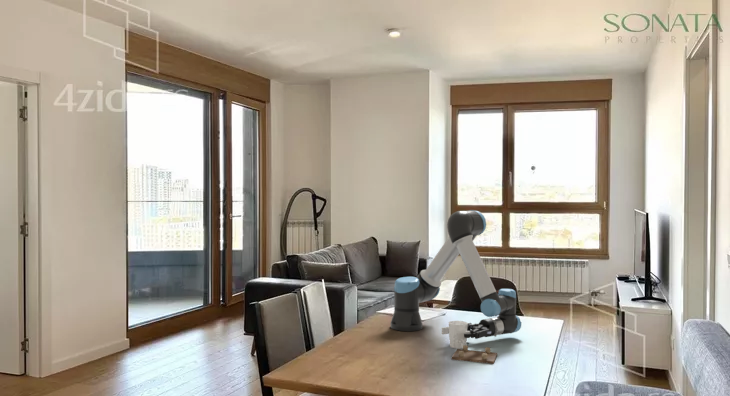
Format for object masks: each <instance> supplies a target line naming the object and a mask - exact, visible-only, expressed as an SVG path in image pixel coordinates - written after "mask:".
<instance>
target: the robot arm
mask: <svg viewBox="0 0 730 396" xmlns="http://www.w3.org/2000/svg"><path fill="white" fill-rule="evenodd" d="M446 223H447V224H446V229H447V233H448V238H447V239H446V240H445V242H444V243H443V245H442V246H441V248H440V249H439V251H438V252H437V253H436V255H435V256H434V258H433V259H432V260H431V262H430V263H429V265H428V267H426V269H422V270H420V272H419V274H418V275H416V276H417V277H415V276H403V277H399V278H397V279H396V280H395V281H394V287H393V291H394V295H393V296H394V298H393V299H394V304H393V305H394V309H393V310H394V311H393V314H392V318H391V320H390V328H391V329H392V330H394V331H400V332H416V331H420V330H422V329H423V326H424V325H423V320H422V318H421V315H420V303H424V302H428V301H429V302H430V301H432V300H434V299H435V298H436V297H438V295H439V293H440V289H441V288H440V287H441V285H442V281H441V280H442V279H443V278H444V276H445V274H446V273H447V272H448V271H449V269H450V268H451V266H452V265H453V264H454V262H455V261H456V259H457V258H458V256H460V258H461V259H462V261H463V264H464V266H465V268H466V270H467V272H468V274H469V277H470V279H471V281H472V283H473V285H474V288H475V290H476V292H477V294H478V296H479V299H480V300H481V304H480V311H481V313H482V314H483V316H485V317H487V318H485V319H481V320H480V321H479V322H478V323H472V322H467V323H468V329H467V331H465V332H459V333H457V340H460V339H466V338H467V339H475V340H478V339H482V338H489V337H494V338H495V337H497V336H500V335H507V334H508V335H509V334H513V333H517V332H518V331H520V330H521V328H522V322H521V319H520V317H519V316H518V315H517V292H516V290H514V289H512V288H500V289H498V290H499V294H497V292H496V291H497V290H496V288H495V286H494V283H493V281H492V279H491V277H490V275H489V273H488V270H487V268H486V266H485V264H484V262H483V260H482V257H481V256H480V253H479V252H478V249H477V246H476V245H475V243H474V240H475V239H476V237H478V236H480V235H482V234H483V233H484V232H485V230H486V228H487V219H486V218H485V216H484V215H483V213H482V212H481V211H478V210H474V209H469V210H457V211H455V212H453V213H452V214H450V215H449V217H448V218H447V222H446ZM498 316H499V317H498ZM441 335H449V326H445V327H441Z"/></svg>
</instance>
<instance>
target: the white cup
mask: <svg viewBox="0 0 730 396" xmlns="http://www.w3.org/2000/svg"><path fill="white" fill-rule="evenodd" d="M468 323H469V322H467V321H463V320H451V321H449V322H448V327H449V334H448V337H449V338H448V339H449V347H450V348H452V349H455V350H457V349H463V345H467V339H468V338H466V339H460V340H457V333H459V332H465V331H467V329H468Z"/></svg>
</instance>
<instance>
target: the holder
mask: <svg viewBox="0 0 730 396" xmlns="http://www.w3.org/2000/svg"><path fill="white" fill-rule="evenodd" d="M484 349H485V350H484V351H482V350H481V351H480V350H472V349H471V350H470V349H469V346H468V345H467V344H466V345H463V349H455V352H454V353H453V354H452V356H451V360H453V361H460V362H461V361H462V362H471V363H472V362H473V363H481V364H490V365H494V363H496V359H497V357H498V352H493V351H491V347H488V346H487V347H485V348H484Z"/></svg>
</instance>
